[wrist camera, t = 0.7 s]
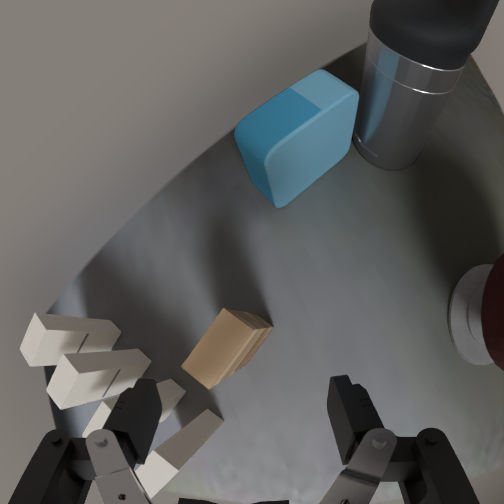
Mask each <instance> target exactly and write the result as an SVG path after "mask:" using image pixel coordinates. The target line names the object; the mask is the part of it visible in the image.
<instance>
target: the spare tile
mask: <svg viewBox="0 0 504 504" xmlns="http://www.w3.org/2000/svg"><path fill="white" fill-rule="evenodd" d="M273 327H274V326H272V325H271V324H269V323H268V322H267V321H265V320H264V319H262V318H261V317H259V316H258V315H257V314H254V313H248V312H243V311H238V310H233V309H227V308H223V309H222V310H221V312H220V313H219V315H218V316H217V317H216V319H215V320H214V322H213V323H212V324H211V326H210V327H209V328H208V330H207V331H206V333H205V334H204V335H203V337H202V338H201V340H200V341H199V342H198V344H197V345H196V347H195V348H194V349H193V351H192V352H191V354H190V355H189V356H188V358H187V359H186V361H185V362H184V363H183V365H182V366H181V367H182V368H183V369H184V370H185V371H187V372H188V373H189V374H190V375H191V376H193V377H194V378H195V379H196V380H198V381H199V382H200V383H201V384H203V385H204V386H205V387H206V388H208V389H210V388H212V387H213V386H215V385H216V384H218V383H219V382H221V381H222V380H224V379H225V378H227V377H228V376H230V375H231V374H233V373H234V372H236V371H237V370H238V369H240V368H241V367H243V366H244V365H246V364H247V363H248V361H249V360H250V359H251V357H252V356H253V355H254V353H255V352H256V351H257V349H258V348H259V347H260V345H261V344H262V343H263V341H264V340H265V338H266V337H267V336H268V334H269V333H270V332H271V330H272V329H273Z"/></svg>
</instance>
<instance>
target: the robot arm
mask: <svg viewBox="0 0 504 504" xmlns="http://www.w3.org/2000/svg"><path fill="white" fill-rule="evenodd" d="M498 2H499V0H374V1H373V3H372V6H371V12H370V24H369V32H368V41H367V48H366V57H365V63H364V70H363V76H362V83H361V89H360V94H359V101H358V107H357V112H356V118H355V123H354V128H353V135H352V136H353V141H354V144H355V146H356V148H357V150H358V151H359V153H360V154H361V155H362V156H363V157H364V158H365V159H366V160H368V161H369V162H371V163H372V164H374V165H376V166H378V167H381V168H384V169H389V170H400V169H404V168H407V167H408V166H410V165H411V164H412V163H413V162H414V161H415V160H416V158H417V156H418V154H419V153H420V151H421V149H422V148H423V146H424V144H425V142H426V141H427V139H428V137H429V135H430V133H431V132H432V130H433V128H434V126H435V124H436V122H437V120H438V119H439V117H440V115H441V113H442V111H443V109H444V107H445V105H446V103H447V101H448V99H449V97H450V95H451V93H452V91H453V89H454V87H455V85H456V82H457V80H458V78H459V76H460V74H461V72H462V70H463V67H464V65H465V63H466V61H467V59H468V56H469V55H470V54H471V53H472V52H473V51H474V50H475V49H476V48H477V46H478V45H479V43H480V41H481V39H482V37H483V35H484V33H485V30H486V28H487V26H488V24H489V22H490V19H491V17H492V15H493V13H494V11H495V9H496V7H497V4H498ZM327 411H328V415H329V418H330V422H331V425H332V429H333V432H334V436H335V439H336V443H337V446H338V450H339V453H340V457H341V460H342V464H343V465H347V464H348V465H347V467H346V468H345V470H342V472H341V473H340V474H339V476H338V477H337V479H336V480H335V482H334V483H333V485H332V486H331V488H330V489H329V491H328V492H327V494H326V495H325V496H324V498H323V499H322V501H321V502H320V503H319V504H369V502H370V500H371V499H372V497H373V495H374V493H375V491H376V489H377V487H378V485H379V483H380V482H396V481H398V484H399V487H400V490H401V493H402V496H403V500H404V503H405V504H480V503H479V501H478V499H477V497H476V495H475V493H474V490H473V488H472V486H471V484H470V482H469V480H468V478H467V476H466V474H465V471H464V469H463V467H462V465H461V463H460V461H459V460H458V458H457V456H456V454H455V452H454V450H453V448H452V446H451V444H450V442H449V440H448V439H447V437H446V435H445V434H444V433H443V432H442V431H441V430H439V429H436V428H426V429H424V430H422V431H420V432H419V433H418V435H417V437H398V436H396V435H395V434H394V433H393V432H392V431H390V430H388V429H385V428H384V426H383V424H382V422H381V419H380V417H379V415H378V413H377V411H376V409H375V407H374V406H373V403H372V401H371V399H370V396H369V394H368V392H367V390H366V389H365V388H363V387H362V386H361V385H360V384H354V385H352V383H351V381H350V379H349V377H348V375H341V376H333V377H331V378H330V384H329V391H328V398H327ZM161 415H162V402H161V399H160V395H159V392H158V389H157V385H156V382H155V380H153V379H142V378H138V379H137V381H136V383H135V385H134V387H133V388H130V387H128V388H127V389H126V390H125V391H123V392H122V393H121V394H120V396H119V398H118V400H117V402H116V403H115V405H114V408H113V409H112V411H111V413H110V414H109V416H108V418H107V420H106V422H105V424H104V426H103V427H102V429H98V430H95V431H93V432H91V433H90V434H89V435H88V436H87V438H70V436H69V435H68V433H67V432H66V431H64V430H60V429H55V430H52V431H50V432H48V433H47V434H46V435H45V436H44V438H43V440H42V441H41V443H40V445H39V446H38V448H37V450H36V452H35V453H34V455H33V457H32V459H31V461H30V462H29V464H28V466H27V468H26V470H25V472H24V473H23V475H22V477H21V479H20V481H19V483H18V485H17V487H16V489H15V491H14V493H13V495H12V497H11V499H10V501H9V503H8V504H84V503H85V500H86V497H87V494H88V491H89V489H90V486H91V483H92V480H95V481H96V484H97V486H98V489H99V491H100V494H101V496H102V499H103V501H104V504H153V502H152V501H151V499H150V497H149V496H148V494H147V492H146V490H145V489H144V487H143V485H142V483H141V482H140V480H139V478H138V476H137V474H136V472H135V470H134V467H135V464H136V463H137V464H142V465H144V464H145V461H146V458H147V455H148V452H149V449H150V446H151V443H152V441H153V438H154V435H155V432H156V429H157V426H158V423H159V420H160V418H161ZM178 504H217V503H213V502H209V501H206V500H196V499H186V498H179V501H178ZM253 504H289V500H283V501H265V502H257V503H253Z"/></svg>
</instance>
